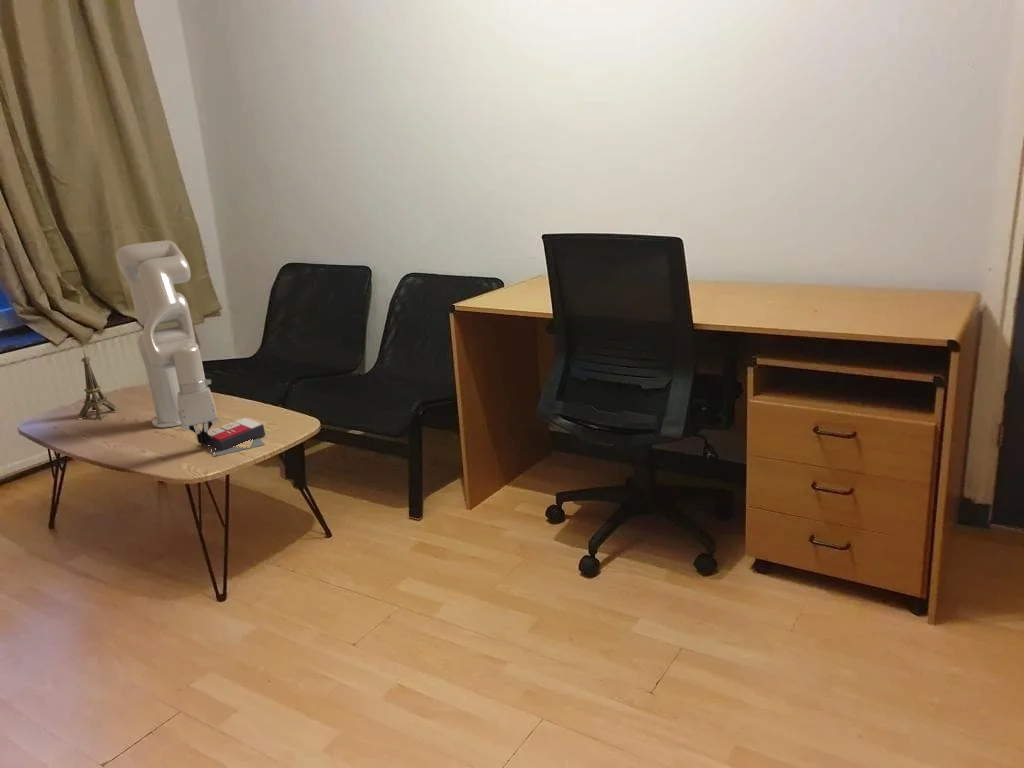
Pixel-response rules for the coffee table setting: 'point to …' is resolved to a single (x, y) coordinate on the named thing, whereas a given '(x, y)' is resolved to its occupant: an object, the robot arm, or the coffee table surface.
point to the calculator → (235, 433)
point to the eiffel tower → (93, 394)
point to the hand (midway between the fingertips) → (204, 444)
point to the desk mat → (255, 443)
